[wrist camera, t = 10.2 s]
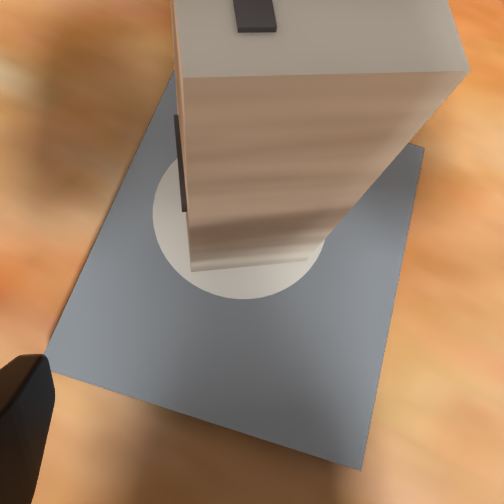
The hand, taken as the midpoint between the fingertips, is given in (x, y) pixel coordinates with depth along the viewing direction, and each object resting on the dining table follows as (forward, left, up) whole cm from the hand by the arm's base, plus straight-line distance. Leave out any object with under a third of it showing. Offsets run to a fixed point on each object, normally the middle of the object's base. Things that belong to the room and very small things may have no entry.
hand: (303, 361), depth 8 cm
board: (+5, +1, -9) cm, 11 cm away
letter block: (+6, +2, -8) cm, 10 cm away
